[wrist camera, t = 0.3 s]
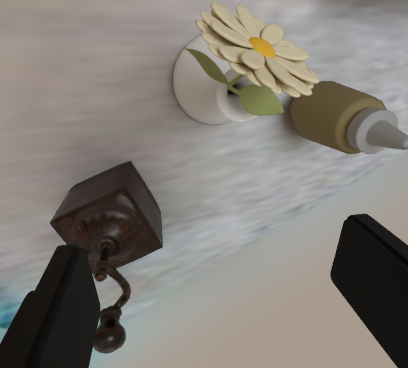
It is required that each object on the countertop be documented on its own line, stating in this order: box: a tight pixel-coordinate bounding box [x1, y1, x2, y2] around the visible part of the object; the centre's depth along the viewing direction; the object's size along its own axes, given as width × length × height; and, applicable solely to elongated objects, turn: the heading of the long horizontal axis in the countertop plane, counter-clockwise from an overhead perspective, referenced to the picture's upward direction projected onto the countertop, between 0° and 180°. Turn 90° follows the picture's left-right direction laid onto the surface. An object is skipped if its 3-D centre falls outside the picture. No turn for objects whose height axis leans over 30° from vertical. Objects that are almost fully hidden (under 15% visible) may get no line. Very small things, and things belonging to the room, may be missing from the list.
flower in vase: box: [173, 1, 319, 125], centre depth 25 cm, size 13×11×25 cm
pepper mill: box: [50, 161, 163, 354], centre depth 35 cm, size 16×11×18 cm
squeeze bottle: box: [290, 81, 408, 154], centre depth 32 cm, size 8×8×18 cm
